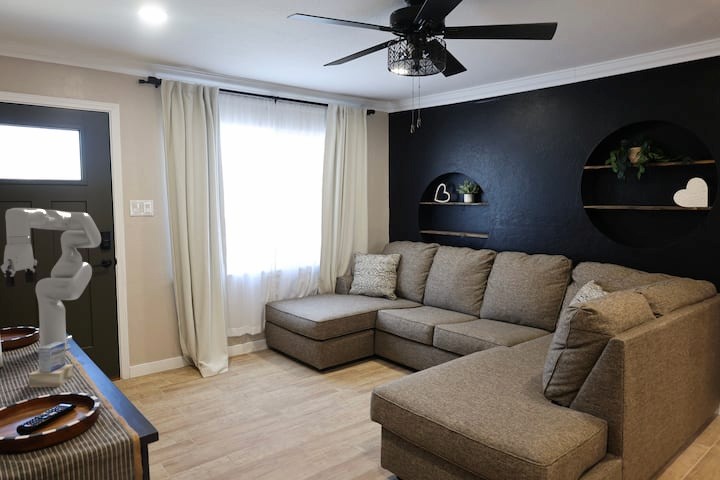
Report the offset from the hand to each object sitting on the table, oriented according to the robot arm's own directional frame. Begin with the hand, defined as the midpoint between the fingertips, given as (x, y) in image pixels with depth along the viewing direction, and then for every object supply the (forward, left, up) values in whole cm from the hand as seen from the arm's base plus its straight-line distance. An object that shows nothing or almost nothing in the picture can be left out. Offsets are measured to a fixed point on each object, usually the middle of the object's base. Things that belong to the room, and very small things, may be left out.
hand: (20, 284), depth 185 cm
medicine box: (+15, +23, -28) cm, 39 cm away
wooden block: (+15, +23, -33) cm, 43 cm away
